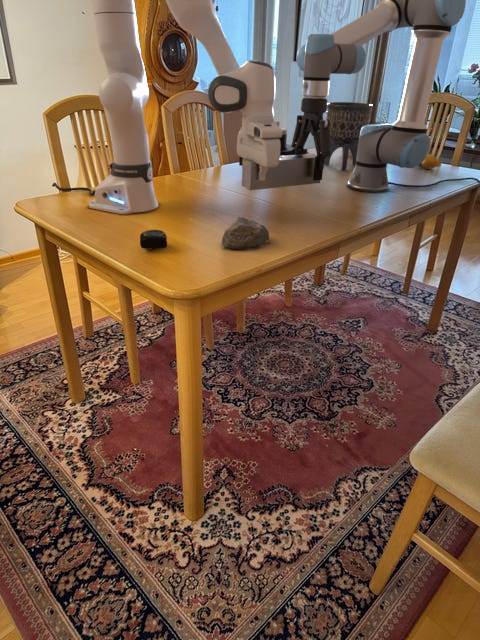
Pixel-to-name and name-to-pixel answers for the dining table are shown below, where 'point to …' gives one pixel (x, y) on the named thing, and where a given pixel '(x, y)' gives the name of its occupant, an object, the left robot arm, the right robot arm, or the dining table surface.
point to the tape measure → (153, 239)
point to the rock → (245, 234)
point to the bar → (280, 172)
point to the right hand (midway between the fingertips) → (307, 176)
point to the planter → (346, 128)
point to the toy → (430, 162)
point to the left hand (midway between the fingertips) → (255, 177)
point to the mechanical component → (282, 146)
